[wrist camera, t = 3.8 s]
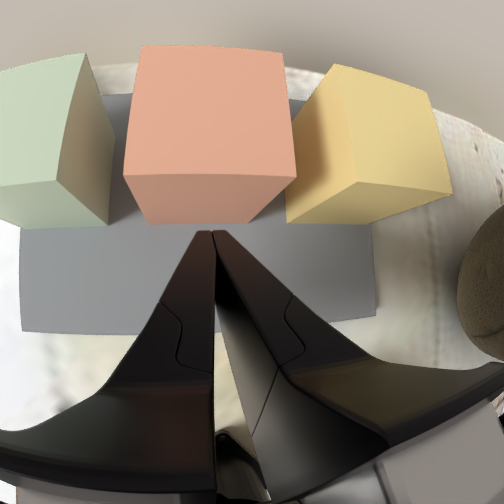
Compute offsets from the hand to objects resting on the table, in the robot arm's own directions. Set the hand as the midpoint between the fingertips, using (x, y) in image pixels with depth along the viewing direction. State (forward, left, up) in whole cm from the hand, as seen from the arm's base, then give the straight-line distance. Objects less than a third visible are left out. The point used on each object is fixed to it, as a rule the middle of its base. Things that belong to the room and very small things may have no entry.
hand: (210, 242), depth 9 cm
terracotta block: (+4, -3, -9) cm, 11 cm away
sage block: (+9, +4, -9) cm, 14 cm away
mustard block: (-1, -10, -9) cm, 14 cm away
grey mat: (+3, -2, -10) cm, 11 cm away
